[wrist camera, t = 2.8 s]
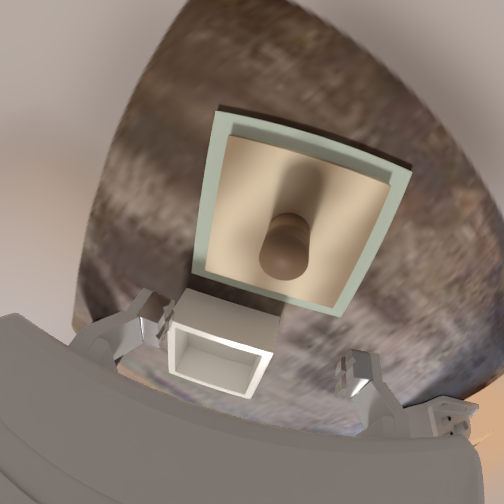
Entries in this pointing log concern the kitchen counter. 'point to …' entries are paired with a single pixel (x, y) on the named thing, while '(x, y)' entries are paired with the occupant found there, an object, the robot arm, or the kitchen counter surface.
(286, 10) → the kitchen counter surface
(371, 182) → the oak lid
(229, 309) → the white open box
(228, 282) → the sage mat
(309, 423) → the kitchen counter surface
